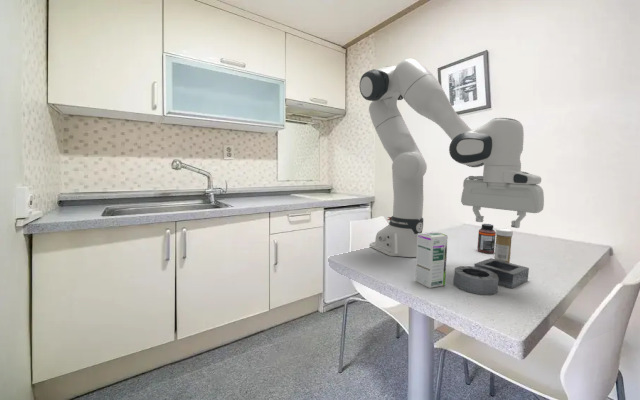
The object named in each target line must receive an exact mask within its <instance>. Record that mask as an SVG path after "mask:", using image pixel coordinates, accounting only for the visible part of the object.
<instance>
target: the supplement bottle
mask: <svg viewBox="0 0 640 400" xmlns="http://www.w3.org/2000/svg"><path fill="white" fill-rule="evenodd" d="M495 244H496V230H494V224H492V223H491V224H490V223H482V224H481V227H480V229H479V230H478V235H477V247H476V248H477V251H478V252H480V253H482V254H493V253H494V254H495Z"/></svg>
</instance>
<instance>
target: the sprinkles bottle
mask: <svg viewBox="0 0 640 400" xmlns="http://www.w3.org/2000/svg"><path fill="white" fill-rule="evenodd" d="M495 232H496V236H495V248H494V255H493V257H494V258H493V259H496V260H500V261H504V262H508V263H511V262H510V260H511V253H512V252H511V250H512V238H513V234H514V233H513V232H514V231H513V230H512V229H509V228H501V227H500V228H496V230H495Z"/></svg>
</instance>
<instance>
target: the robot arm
mask: <svg viewBox="0 0 640 400" xmlns="http://www.w3.org/2000/svg"><path fill="white" fill-rule="evenodd" d="M358 87H359V93H360V95H361V96H362V98H363V99H364V100H366V101H368V102H369V101H370V104H369V106H368V111H369V112H368V113H369V116H370V119H371V123H372V125H373V127H374V130H375V132H376V134H377V136H378V138H379V141H380V142H381V144H382V146H383V149H384V150H385V152H386V153H387V154H388V156H389V158H390V159H391V161H392V163H391V164H392V165H391V170H392V173H391V174H392V190H393V208H392V216H391V217H390V216H387V218H386V219H387V221H389V222H388V224H387V225H386V226H385V227H383V228H382V229H381V230H379V231H377V233H376V235H375V239H374V240H375V241H372V242H370V243H369V245H368V246H369V247H370V248H372V249H374V250H377V251H379V252H380V253H383V254H385V255H386V256H391V257H405V258H417V235H418V233H423V229H424V217H423V215H424V214H423V211H424V176H425V174H426V173H427V169H428V168H427V167H428V165H427V162H426V160H425V158H424V156H423V155H422V153H421V150H420V148H419V147H418V145H417V143H416V142H415V139H414V138H413V136H412V134H411V132H410V130H409V128H408V126H407V124H406V122H405V120H404V118H403V116H402V114H401V112H400V110H399V108H398V105H397V104H398V101H402V100H404V102H406V103H407V105H408V106H409V107H410V108H411V109H412V110H413V111H415V112H416V113H417V114H419V115H420V116H422V117H425V118H427V119H428V120H429V121H431V122H434V123H435V124H436V125H438V126H439V127H440V128H441V130H442V131H443V132H444V133H445V134H446V135H447V136H448V137H449V138H450V140H451V142H450V144H449V147H448V148H449V149H448V151H449V152H448V153H449V155H450V157H451V159H453V161H455V162H456V163H458V164H462V165H464V166H467V167H470V168H480V167H483V172H482V175H478V176H477V175H475V176H474V175H469V176H468V177H465V178H464V180H463V183H462V184H463V186H462V193H461V196H460V197H461V199H460V203H461V204H462V205H463V206H467V207H472V212H473V214H474V215H475V222H476V223H483V222H484V218H485V216H483V215H482V214H481V213H480V211H481V209H482V208H485V209H493V210H503V211H513V212H516V216H518V217H517V218H516V219H515V220H511V221H510V222H511V225H510V227H511V228H515V229H519V228H520V226H521V221H523V220H524V218H525V217H526V216H527V213H529V214H539V213H541V212H542V211H543V210H544V207H545V196H544V195H545V194H544V190H543V188H542V186H540V184H541V183H542V177H541V176H539V175H537V174H532V173H529V172H526V171H522V163H521V155H522V154H523V151H524V139H525V135H524V125H523V124H522V123H521V121H520V120H517V119H514V118H509V117H508V118H507V117H496V118H491V119H490V120H489V121H488V122H486V123H485V124H483V125H480V126H479V127H477V128H475V129H474V128H473V129H471V128H470V127H469V126H468V125H467V123H466V122H465V121H464V120H463V119H462V118H461V117H460V115H459V114H458V113H457V111H456V110H455V108H454V107H453V105H452V104H451V102H450V100H449V98H448V96H447V94H446V92H445V91H444V88H443V87H442V85H441V83H440V82H439V80H438V79H437V78H436V77H435V75H433V73H432V72H431V71H430V70H429V69H428V68H427V67H426V66H424V65H423V64H422V63H421V62H420V61H418V60H416V59H414V58H411V57H410V58H405V59H403V60H401V61H400V62H399V63H398V64H397V65H386V66H383V67H379V68H375V69H374V68H373V69H371V70H370V69H369V70H368V71H366V72H365V73H363V74H362V75H361V77H360V80H359V86H358Z"/></svg>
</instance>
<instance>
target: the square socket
mask: <svg viewBox="0 0 640 400" xmlns="http://www.w3.org/2000/svg"><path fill="white" fill-rule="evenodd" d="M473 267H478V268H482V269H486V270H489V271H492V272H494V273H495V274H497V275H498V278H499V279H498V285H501V286H504V287H506V288H509V289H514V288H516V287H519V286H520V285H522V284H524V283H526V282H528V280H529V272H530V268H529V267H527V266H523V265H519V264H516V263H511V262H510V263H508V262H504V261H500V260H496V259H495V258H488V259H484V260H481V261H479V262H475V263H474V266H473Z"/></svg>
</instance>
